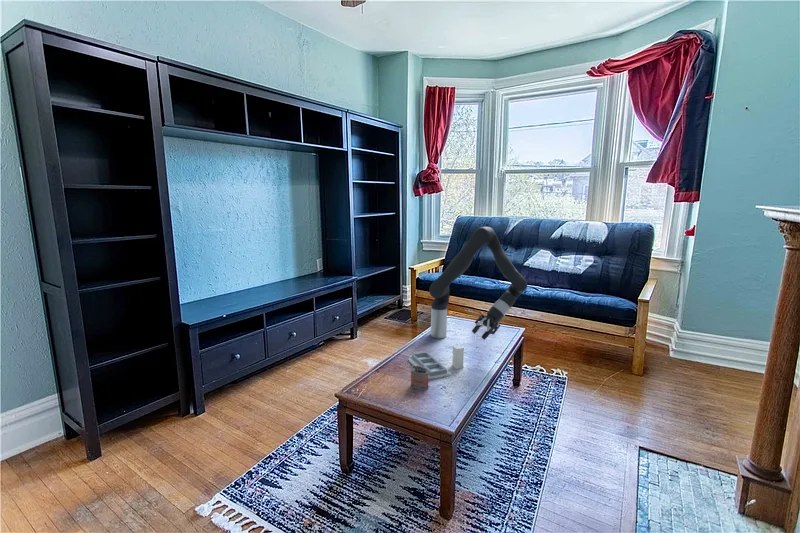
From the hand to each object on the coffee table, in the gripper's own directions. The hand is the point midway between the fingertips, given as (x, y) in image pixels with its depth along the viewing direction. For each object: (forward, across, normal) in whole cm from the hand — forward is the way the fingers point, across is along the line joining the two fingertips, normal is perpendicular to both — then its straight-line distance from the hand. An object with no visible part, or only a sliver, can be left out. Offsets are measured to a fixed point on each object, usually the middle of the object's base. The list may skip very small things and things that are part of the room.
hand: (477, 335), depth 192 cm
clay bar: (+18, 0, +3) cm, 18 cm away
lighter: (+36, +12, -16) cm, 41 cm away
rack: (+28, -4, -7) cm, 29 cm away
